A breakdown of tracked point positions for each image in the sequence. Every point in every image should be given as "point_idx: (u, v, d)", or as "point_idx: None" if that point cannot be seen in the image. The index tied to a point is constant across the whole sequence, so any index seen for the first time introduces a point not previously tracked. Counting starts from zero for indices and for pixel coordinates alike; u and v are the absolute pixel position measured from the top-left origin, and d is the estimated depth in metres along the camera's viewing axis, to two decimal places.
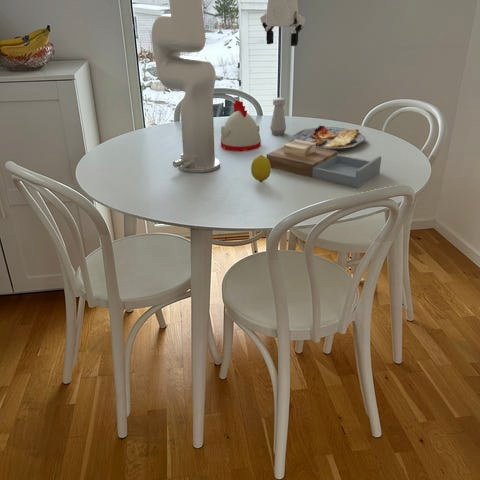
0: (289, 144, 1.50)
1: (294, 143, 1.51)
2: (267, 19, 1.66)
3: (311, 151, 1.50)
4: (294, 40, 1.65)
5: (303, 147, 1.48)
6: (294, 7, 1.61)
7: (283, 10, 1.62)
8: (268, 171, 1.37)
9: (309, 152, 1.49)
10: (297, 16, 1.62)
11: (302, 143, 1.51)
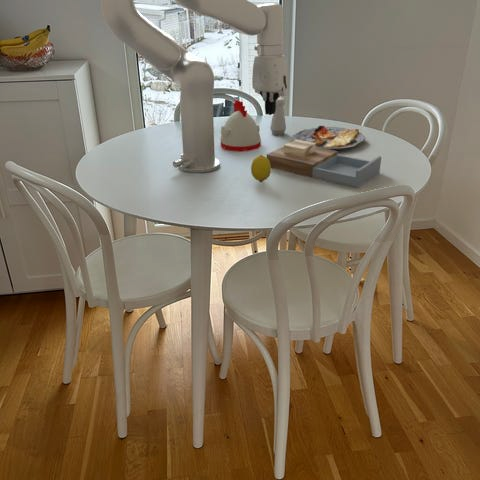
0: (289, 144, 1.50)
1: (294, 143, 1.51)
2: (253, 83, 1.49)
3: (311, 151, 1.50)
4: (271, 109, 1.51)
5: (303, 147, 1.48)
6: (282, 71, 1.44)
7: (270, 75, 1.45)
8: (268, 171, 1.37)
9: (309, 152, 1.49)
10: None
11: (302, 143, 1.51)
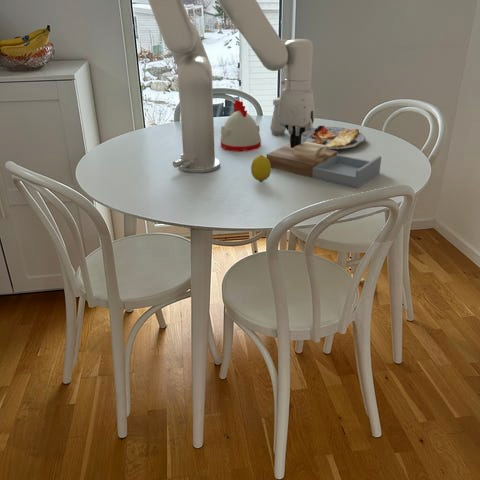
0: (299, 146, 1.48)
1: (304, 145, 1.49)
2: (279, 117, 1.48)
3: (321, 153, 1.48)
4: (297, 142, 1.50)
5: (314, 149, 1.46)
6: (310, 107, 1.43)
7: (298, 110, 1.43)
8: (268, 171, 1.37)
9: (319, 154, 1.47)
10: None
11: (313, 145, 1.49)
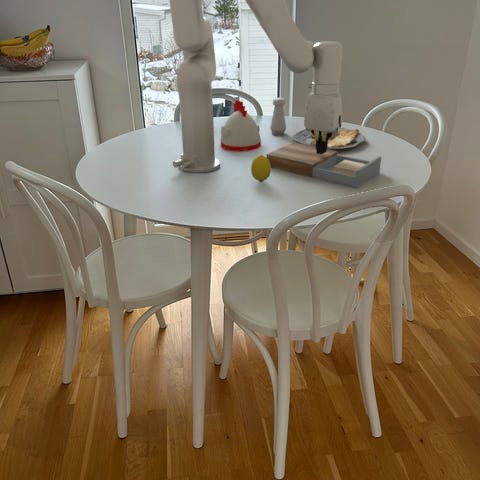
0: None
1: None
2: (305, 121, 1.43)
3: None
4: (323, 148, 1.45)
5: None
6: (338, 111, 1.38)
7: (325, 114, 1.38)
8: (268, 171, 1.37)
9: None
10: None
11: None
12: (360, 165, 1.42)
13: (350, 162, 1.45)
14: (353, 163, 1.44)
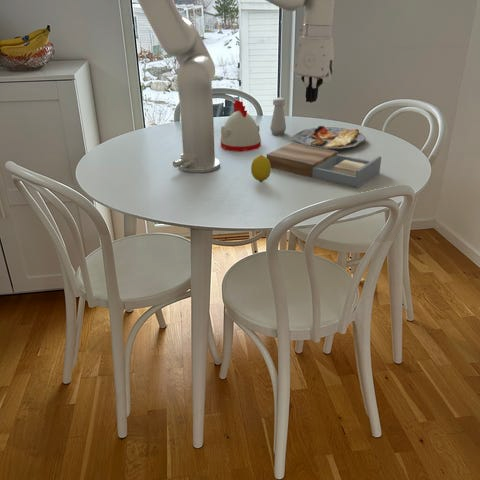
0: None
1: None
2: (295, 67, 1.38)
3: None
4: (313, 96, 1.39)
5: None
6: (330, 55, 1.32)
7: (316, 58, 1.33)
8: (268, 171, 1.37)
9: None
10: None
11: None
12: (360, 165, 1.42)
13: (350, 162, 1.45)
14: (353, 163, 1.44)
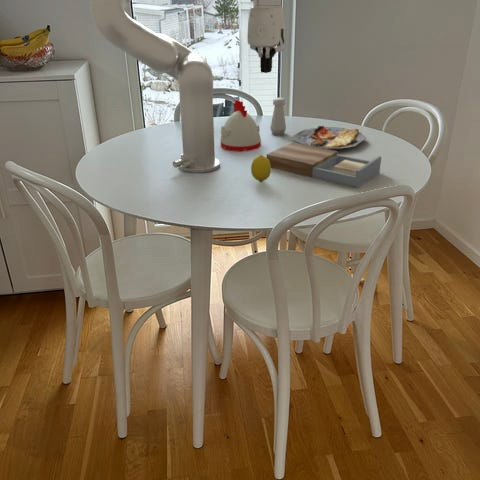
0: None
1: None
2: (248, 37, 1.39)
3: None
4: (267, 66, 1.41)
5: None
6: (280, 24, 1.34)
7: (267, 27, 1.35)
8: (268, 171, 1.37)
9: None
10: None
11: None
12: (360, 165, 1.42)
13: (350, 162, 1.45)
14: (353, 163, 1.44)
